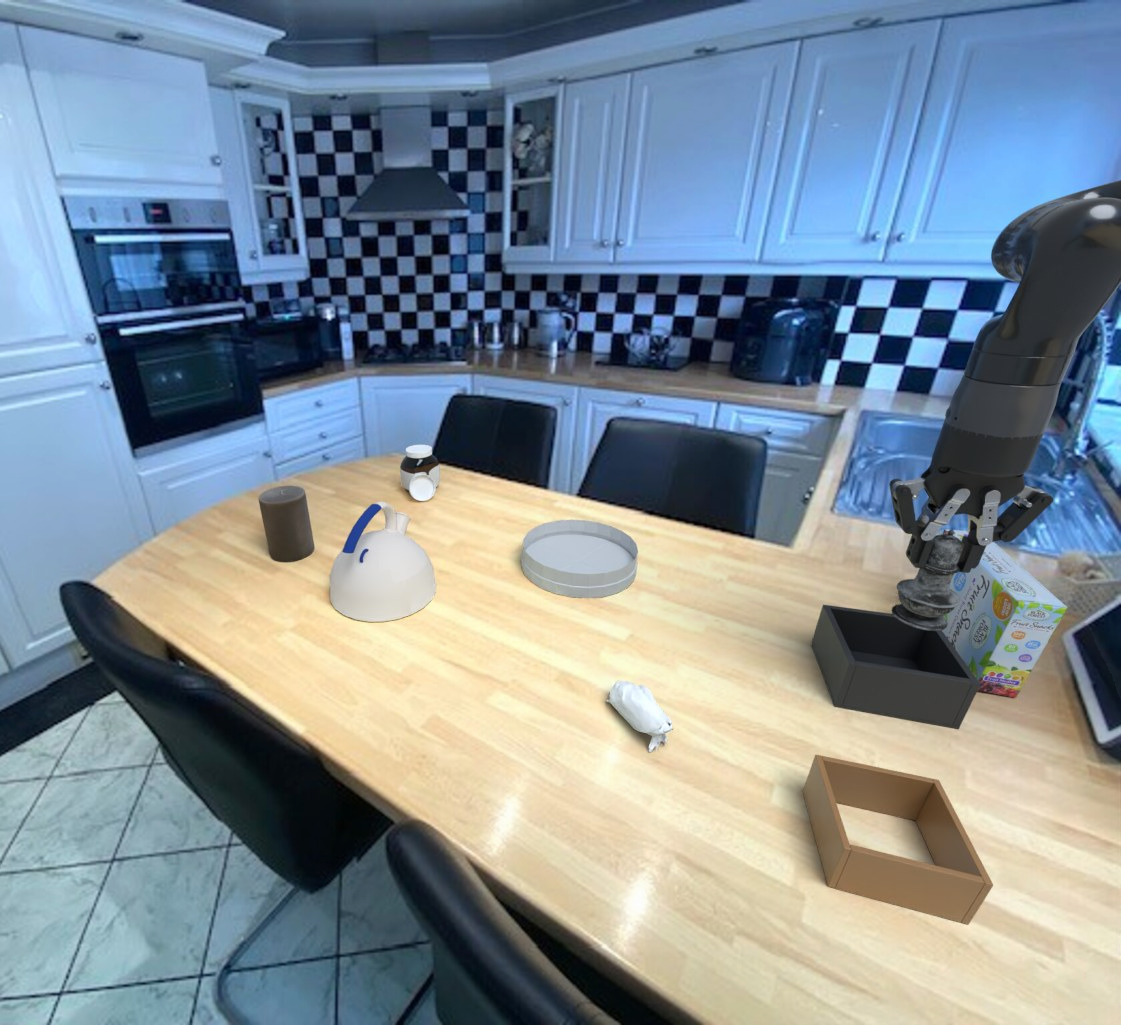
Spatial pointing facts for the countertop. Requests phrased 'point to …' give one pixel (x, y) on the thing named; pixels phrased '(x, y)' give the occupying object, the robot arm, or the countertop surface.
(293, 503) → the pillar candle
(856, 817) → the countertop surface
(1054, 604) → the snack box
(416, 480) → the spread jar
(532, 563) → the dish
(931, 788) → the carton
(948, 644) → the open box
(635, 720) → the white oblong lumpy piece
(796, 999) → the countertop surface
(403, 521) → the kettle
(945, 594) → the dark grey chess piece
